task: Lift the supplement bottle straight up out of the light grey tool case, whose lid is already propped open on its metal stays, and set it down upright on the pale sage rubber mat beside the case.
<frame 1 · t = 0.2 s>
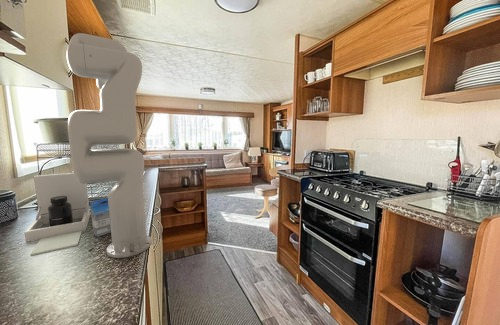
hand: (117, 144, 101), 31 cm above the counter, tool pointing down, fingers open, 9 cm apart
tool case: (62, 227, 83), on the counter
mat: (58, 242, 71), on the counter
supplement bottle: (62, 227, 83), resting in tool case
label tape box: (109, 231, 79), on the counter
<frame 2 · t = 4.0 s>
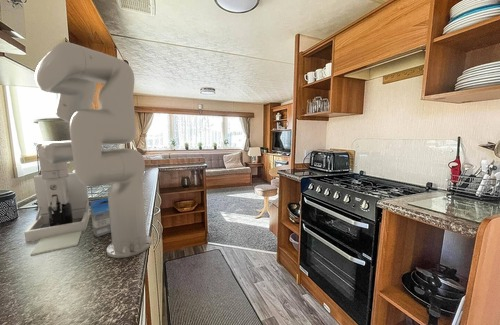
hand: (61, 219, 82), 3 cm above the counter, tool pointing down, fingers closed on supplement bottle, 6 cm apart
supplement bottle: (62, 227, 83), resting in tool case, touching gripper
everything else where it was.
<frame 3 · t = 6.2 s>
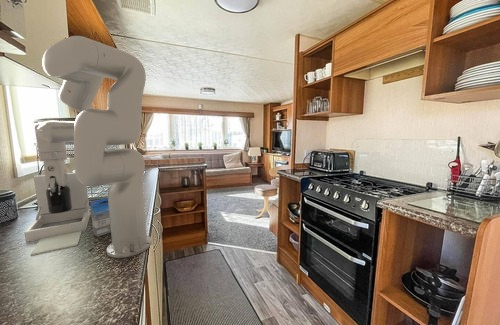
hand: (59, 202, 81), 10 cm above the counter, tool pointing down, fingers closed on supplement bottle, 6 cm apart
supplement bottle: (61, 211, 82), point 6 cm above the counter, touching gripper
everything else where it was.
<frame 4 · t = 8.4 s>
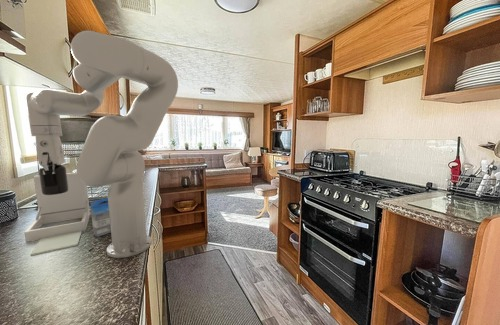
hand: (54, 183, 73), 19 cm above the counter, tool pointing down, fingers closed on supplement bottle, 6 cm apart
supplement bottle: (56, 193, 74), point 16 cm above the counter, touching gripper
everything else where it was.
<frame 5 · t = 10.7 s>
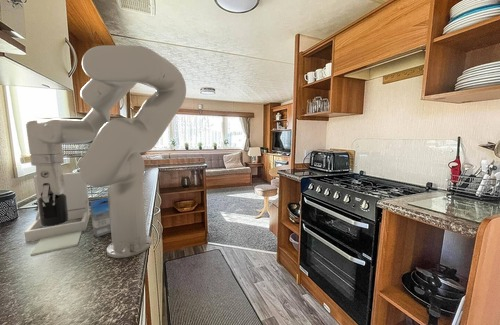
hand: (54, 213, 70), 10 cm above the counter, tool pointing down, fingers closed on supplement bottle, 6 cm apart
supplement bottle: (55, 223, 70), point 7 cm above the counter, touching gripper
everything else where it was.
when the fingers open (5 cm above the counter, at t = 12.7 s): supplement bottle drops 1 cm, resting on mat.
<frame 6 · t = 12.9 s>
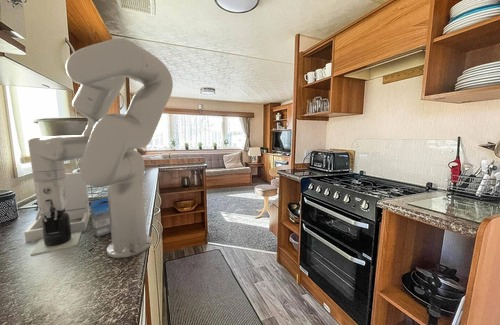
hand: (56, 226, 70), 6 cm above the counter, tool pointing down, fingers open, 9 cm apart
supplement bottle: (58, 242, 71), resting on mat
everything else where it was.
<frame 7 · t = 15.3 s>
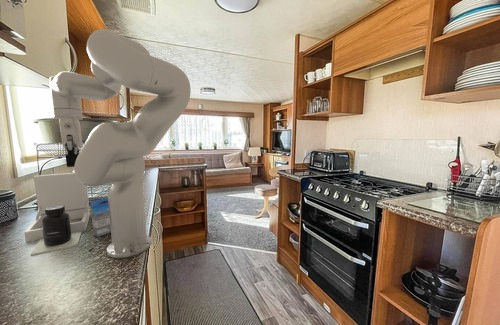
hand: (74, 164, 75), 25 cm above the counter, tool pointing down, fingers open, 9 cm apart
nothing on the counter moved.
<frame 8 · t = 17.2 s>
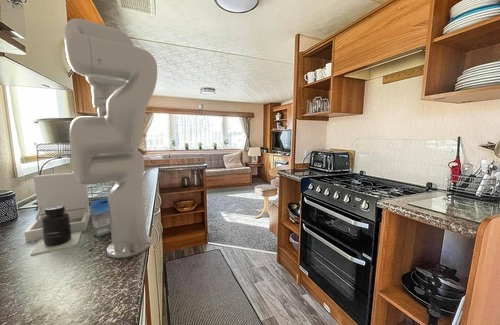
hand: (108, 147, 87), 30 cm above the counter, tool pointing down, fingers open, 9 cm apart
nothing on the counter moved.
at the end: supplement bottle inside the target area on the mat (0.3 cm from its centre), point 0.3 cm above the mat's base; supplement bottle tilted 0°; the gripper is holding nothing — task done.
